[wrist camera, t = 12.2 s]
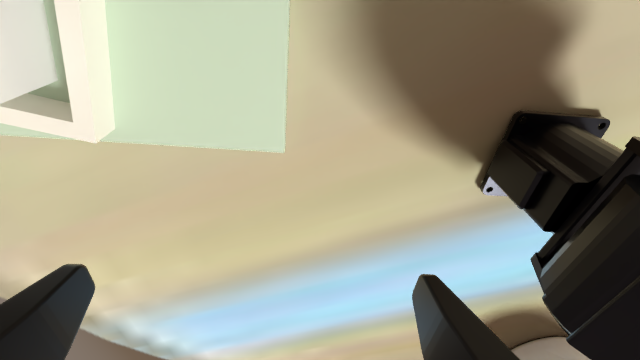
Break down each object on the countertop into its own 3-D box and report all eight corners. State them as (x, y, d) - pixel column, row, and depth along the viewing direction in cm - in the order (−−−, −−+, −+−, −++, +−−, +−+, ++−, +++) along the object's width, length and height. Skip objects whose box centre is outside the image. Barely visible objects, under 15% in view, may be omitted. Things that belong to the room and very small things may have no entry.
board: (295, -183, 12) (295, -195, 12) (285, 145, 21) (284, 152, 20) (-271, -270, 11) (-319, -291, 10) (-37, 125, 19) (-53, 131, 18)
